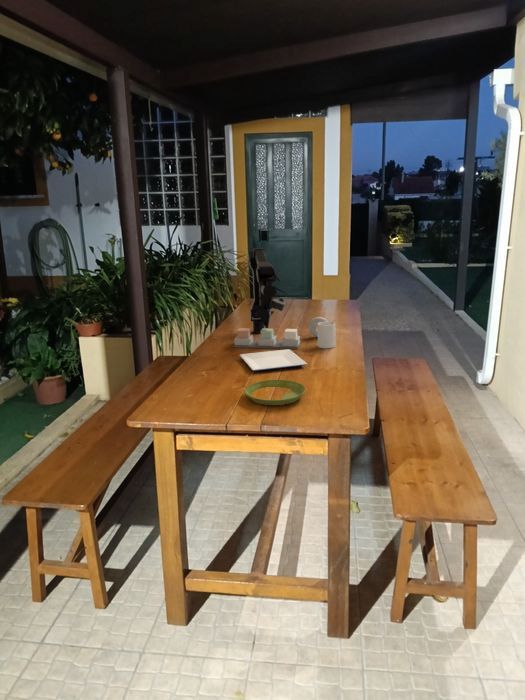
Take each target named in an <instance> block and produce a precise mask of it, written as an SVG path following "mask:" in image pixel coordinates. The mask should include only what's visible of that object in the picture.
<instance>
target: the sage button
mask: <svg viewBox="0 0 525 700" xmlns="http://www.w3.org/2000/svg"><path fill="white" fill-rule="evenodd" d="M274 331H275V330H274V328H265V327H264V328H263V329H262V330H261V333H260V336H261V339H273V337H274V334H275V333H274Z"/></svg>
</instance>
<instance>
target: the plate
mask: <svg viewBox="0 0 525 700" xmlns="http://www.w3.org/2000/svg"><path fill="white" fill-rule="evenodd" d="M239 356H240V358H241V359H242V360H243V361H244V362H245V363H246V365H248V367H249V368H250V369H251V370H252V371H253V372H255V371H256V372H257V371H258V372H259V371H266V370H275V369H281V368H282V369H283V368H292V367H300V366H301V367H302V366H307V364H308V363H307V362H306V361H305V360H304V359H302V358H301V357H300V356H298V355H297V354H296V353H294V351H293V350H292V349H277V350H268V351H259V352H251V353H249V352H248V353H240V354H239Z"/></svg>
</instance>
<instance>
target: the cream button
mask: <svg viewBox="0 0 525 700" xmlns="http://www.w3.org/2000/svg"><path fill="white" fill-rule="evenodd" d="M284 336H285V339H294V340H296V339H297V336H298V328H285V330H284Z"/></svg>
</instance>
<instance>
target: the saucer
mask: <svg viewBox="0 0 525 700" xmlns="http://www.w3.org/2000/svg"><path fill="white" fill-rule="evenodd" d="M266 387H280V388H287V389H291V391H292V392H291V391H290V392H291V393H288V394H287V392H286V393H285V395H284V396H283V395H282V396H283V397H282V399H281V400H264V399H258V398H254V397H251V396H252V394H253V392H254V391H256V390H258V389H261V388H266ZM305 392H306V386H304V385H303V384H302V383H301V382H297V381H294V380H288V379H270V380H269V379H268V380H262V381H256V382H254V383H251V384H249V385H248V386H246V388H244V393H245V395H246V396H247V398H249V399H250V400H251V401H252V402H254V403H255V404H258V403H259V404H258V405H261V404H265V405H264V406H267V405H280V406H286V405H285V404H287V405H290V404H293V403H295V402H297V401H298V400H299V399H300V398H301V399H302V397H303V396H304V394H305ZM292 402H293V403H292ZM289 403H290V404H289Z"/></svg>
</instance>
